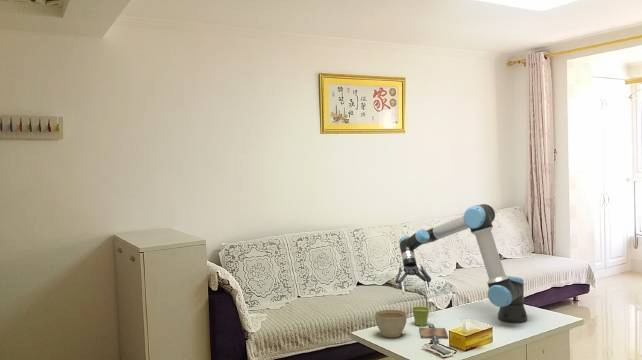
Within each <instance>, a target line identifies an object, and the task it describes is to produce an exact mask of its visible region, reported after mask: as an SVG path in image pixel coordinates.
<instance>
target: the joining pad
mask: <svg viewBox="0 0 642 360" xmlns="http://www.w3.org/2000/svg"><path fill="white" fill-rule="evenodd" d="M418 329H419V335H420V339H431V337H432V335H437V337H438V340H439V339H445V340H446V339H449V335H448V333H447V330H446V328H445V327H435V328H429V327H419V328H418Z"/></svg>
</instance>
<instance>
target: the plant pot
mask: <svg viewBox="0 0 642 360" xmlns="http://www.w3.org/2000/svg"><path fill="white" fill-rule="evenodd" d="M411 310H412V313H413V318H414V324H415V325H416V326H419V327H424V326H428V319H429V318H428V317H429V313H430V307H427V306H420V305H418V306H413V307H411Z"/></svg>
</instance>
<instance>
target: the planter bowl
mask: <svg viewBox="0 0 642 360" xmlns="http://www.w3.org/2000/svg"><path fill="white" fill-rule="evenodd" d="M374 317H375V324H376V326H377V328H378V330H379V332H381V336H383V337H385V338H399V337H401V335H402V333H403V331H404V329H405V327H406V324H407V321H408V320H407V318H408V313H407V312H406V311H403V310H400V309H383V310H382V309H381V310H378V311H376V312H375V313H374Z"/></svg>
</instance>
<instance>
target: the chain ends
mask: <svg viewBox="0 0 642 360" xmlns="http://www.w3.org/2000/svg"><path fill="white" fill-rule="evenodd" d="M428 328H436V327H435V325H434V323H433V324H431V323H430V324H429V325H428ZM430 339H431V342H432V341H433V342H434V343H439V344H440V340H439V339H438V337H437V335H432V337H431V338H430Z"/></svg>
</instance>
